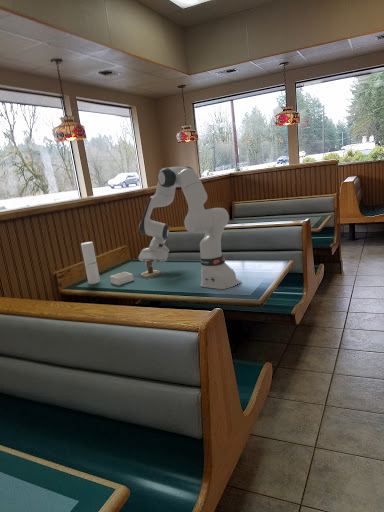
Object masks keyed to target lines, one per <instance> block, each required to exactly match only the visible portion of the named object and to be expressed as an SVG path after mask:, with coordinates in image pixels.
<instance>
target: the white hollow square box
mask: <svg viewBox="0 0 384 512" xmlns="http://www.w3.org/2000/svg"><path fill="white" fill-rule="evenodd" d="M109 279H110V283H111V284H112V285H115V286H122V285H124V284H127V283H130V282H133V281H134V275H133V273H130V272H127V271H123V272H118V273H115V274H112V275H110V276H109Z"/></svg>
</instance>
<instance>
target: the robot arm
mask: <svg viewBox="0 0 384 512" xmlns="http://www.w3.org/2000/svg"><path fill="white" fill-rule="evenodd" d="M176 188H181V191H182V193H183V195H184V197H185V201H186V203H187V206H188V207H187V209H188V210H187V214H186V216H185V218H184V221H183V223H184V227H185V230H186V231H187V232H188V233H190V234H201V233H205V234H204V237H203V238H202V239H201V240H200V242H199V252H200V258H199V259H200V264H201V270H200V274H201V275H200V280H201V281H200V284H199V285H200V287H201V288H209V289H217V290H227V289H230V287H231V288H234V287H236V286H238V285H240V284H241V283H242V280H241V279H238V278H237V275H236V272H235V271H234V269H233V268H231V267H230V266H229V265H228V264H227V263H226V257H224V256H223V254H222V235H223V232H224V230H225V228H226V226H227V225H228V224H229V221H230V215H229V212H228V211H227V209H225V208H224V207H214V208H213V207H212V208H207V209H205V207H204V205H205V203H206V202H207V200H208V193H207V192H206V190H205V187H204V184H203V183H202V181H201V179H200V177H199V175H198V174H197V172H196V171H195V170H194V169H193V168H192V167H190V166H171V167H164V168H161V169H160V170H159V171H158V174H157V184H156V189H155V193H154V194H153V195H151V196H150V197H149V198H148V201H147V204H146V206H145V209H144V212H143V215H142V219H141V221H140V222H139V224H138V231H139V233H140V234H141V235H144V236H150V237H152V239H151V241H150V243H149V246H148V247H144V248H142V249H141V250H140V253H139V255H138V257H137V258H138V260H139V261H140V262H145V263H144V267H145V268H147V262H146V261H147V260H151V262H152V264H151V267H152V268H155V266H156V265H157V264H158V262H159V263H163V262H167V260H168V257H169V252H170V249H169V247H167V246H166V245H165V243H166V241H167V239H168V237H169V235H170V232H171V231H170V228H169V226H168V224H166V223H163V222H160V221H156V220H153V219H151V215H152V213H153V209H155V208H162V207H168V206H169V205H172V203H173V201H174V199H175V196H176V195H175V194H176ZM240 282H241V283H240ZM239 283H240V284H239ZM237 284H238V285H237ZM235 285H236V286H235ZM233 286H234V287H233ZM226 288H227V289H226Z"/></svg>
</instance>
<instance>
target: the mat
mask: <svg viewBox="0 0 384 512" xmlns="http://www.w3.org/2000/svg"><path fill="white" fill-rule="evenodd" d="M159 271H160V272H161V273H160V274H159V275H157V276H153V277H142V276H141V274H142V273H139V274H135V275H134V277H135V278H138V279H143V280H146V281H148V280H151V279H153V278H157V277H160V276H164V275H166V274H169V272H167V271H164V270H163V271H162V270H159Z"/></svg>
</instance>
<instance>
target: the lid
mask: <svg viewBox="0 0 384 512" xmlns="http://www.w3.org/2000/svg"><path fill="white" fill-rule="evenodd" d="M146 262H147V267H146V268H147V270H146V271H143V272H141V273H140V274H141V276H142V277H153V276H157V275H159V274H160V273H161V272H160V271H161V270H159V269H154V267H151V264H152V263H153V262H151V260H147V261H146ZM157 277H158V276H157Z"/></svg>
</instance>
